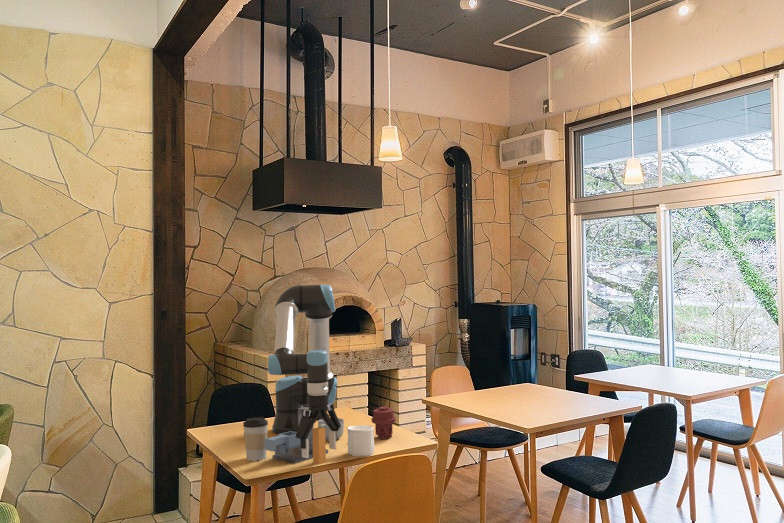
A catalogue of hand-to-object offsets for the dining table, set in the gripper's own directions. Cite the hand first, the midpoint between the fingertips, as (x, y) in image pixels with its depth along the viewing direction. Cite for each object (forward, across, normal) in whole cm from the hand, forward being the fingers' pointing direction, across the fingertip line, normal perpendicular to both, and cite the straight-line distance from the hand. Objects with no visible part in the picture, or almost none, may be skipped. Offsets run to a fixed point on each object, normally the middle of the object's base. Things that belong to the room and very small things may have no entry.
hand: (319, 453), depth 230 cm
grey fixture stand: (+3, +2, +12) cm, 13 cm away
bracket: (0, -6, +12) cm, 14 cm away
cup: (+4, +17, -5) cm, 18 cm away
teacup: (+4, +25, +20) cm, 32 cm away
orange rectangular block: (+3, 0, 0) cm, 3 cm away
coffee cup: (+3, -10, +23) cm, 25 cm away
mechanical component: (+3, +40, +3) cm, 40 cm away
